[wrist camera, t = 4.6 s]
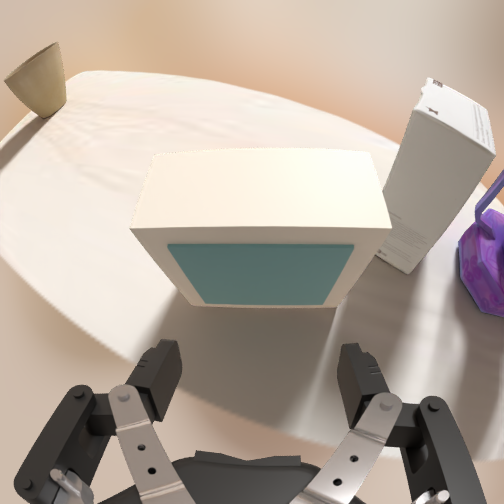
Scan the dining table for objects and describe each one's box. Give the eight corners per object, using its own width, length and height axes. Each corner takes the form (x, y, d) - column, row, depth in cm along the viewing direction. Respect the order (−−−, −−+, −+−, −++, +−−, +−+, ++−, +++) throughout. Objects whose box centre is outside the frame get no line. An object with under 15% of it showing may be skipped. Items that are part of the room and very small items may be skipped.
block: (332, 253, 24) (369, 152, 14) (337, 309, 22) (393, 232, 11) (198, 252, 25) (154, 154, 14) (192, 308, 23) (128, 232, 12)
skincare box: (407, 277, 22) (502, 164, 9) (353, 244, 24) (412, 107, 11) (428, 216, 25) (492, 109, 12) (382, 189, 27) (427, 70, 14)
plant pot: (90, 90, 47) (68, 36, 33) (42, 131, 41) (11, 77, 27) (64, 90, 51) (44, 46, 37) (24, 126, 45) (-2, 82, 31)
